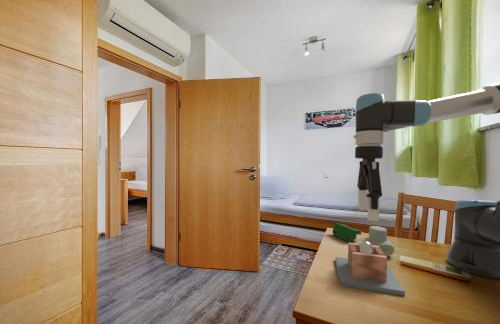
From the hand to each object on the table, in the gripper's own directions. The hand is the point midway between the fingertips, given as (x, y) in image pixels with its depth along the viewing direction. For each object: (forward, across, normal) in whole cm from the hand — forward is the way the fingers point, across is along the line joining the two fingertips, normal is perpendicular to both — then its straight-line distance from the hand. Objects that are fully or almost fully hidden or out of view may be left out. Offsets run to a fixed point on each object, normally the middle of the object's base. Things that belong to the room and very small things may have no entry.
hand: (367, 214), depth 68 cm
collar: (+18, 0, 0) cm, 18 cm away
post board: (+19, 0, 0) cm, 19 cm away
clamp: (+20, -33, -1) cm, 39 cm away
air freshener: (+20, -19, +8) cm, 28 cm away
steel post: (+18, 0, 0) cm, 18 cm away
